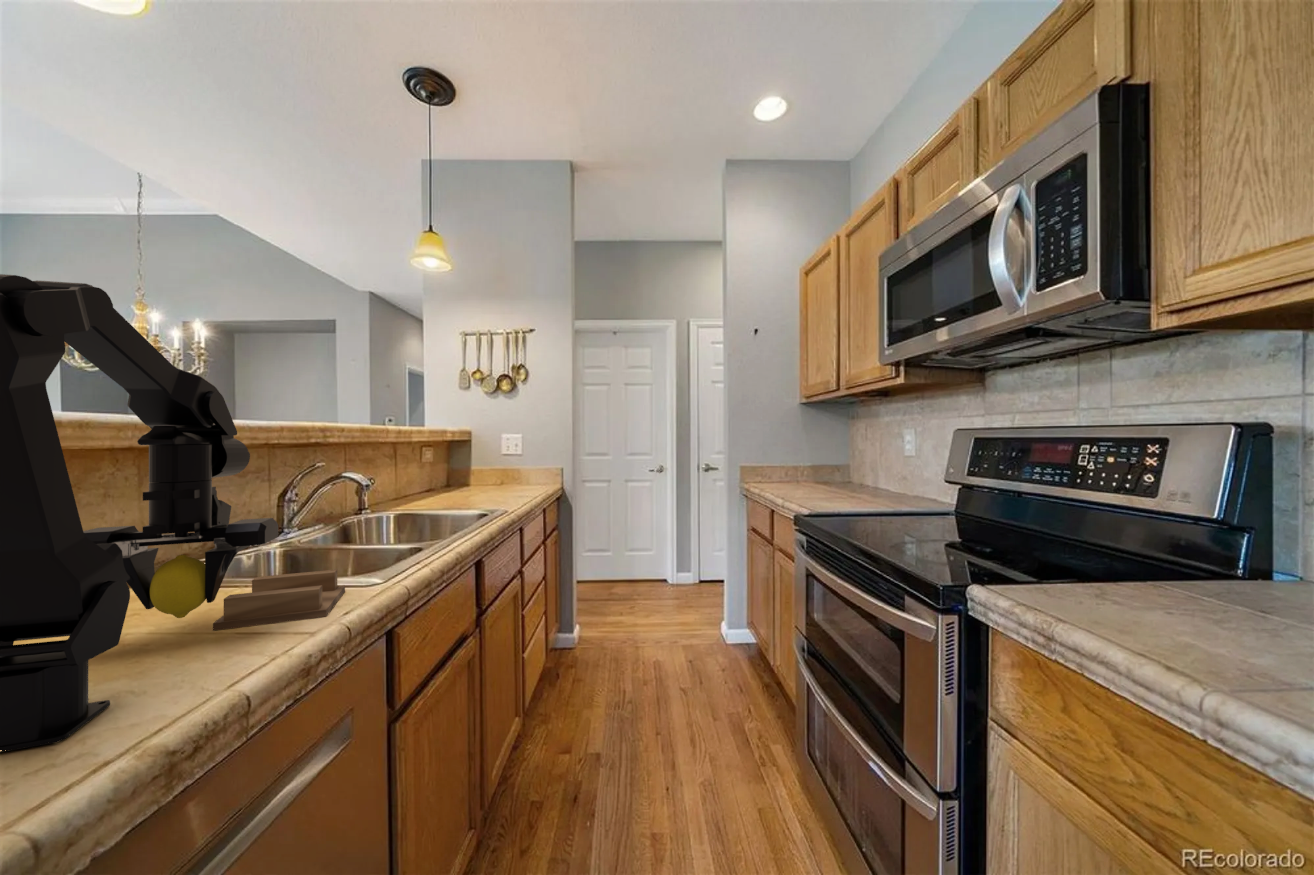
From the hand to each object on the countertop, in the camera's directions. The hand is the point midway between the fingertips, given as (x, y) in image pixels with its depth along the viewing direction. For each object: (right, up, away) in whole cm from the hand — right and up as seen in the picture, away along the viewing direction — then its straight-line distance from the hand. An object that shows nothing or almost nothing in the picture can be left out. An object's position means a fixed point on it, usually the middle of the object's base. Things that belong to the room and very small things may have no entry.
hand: (181, 605), depth 61 cm
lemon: (0, -2, 0) cm, 2 cm away
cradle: (+3, -5, +13) cm, 14 cm away
